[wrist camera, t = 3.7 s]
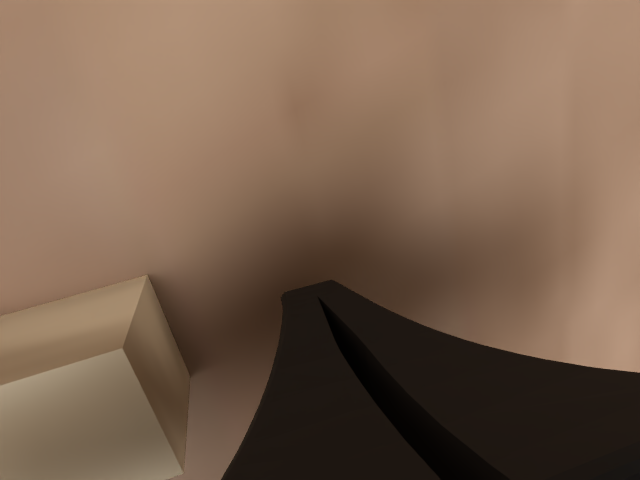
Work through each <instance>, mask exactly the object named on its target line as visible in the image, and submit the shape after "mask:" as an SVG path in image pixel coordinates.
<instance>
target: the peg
mask: <svg viewBox="0 0 640 480" xmlns="http://www.w3.org/2000/svg"><path fill="white" fill-rule="evenodd" d="M189 389H190V375H189V373H188V370H187V368H186V365H185V363H184V361H183V358H182V356H181V354H180V351H179V349H178V346H177V344H176V342H175V339H174V337H173V334H172V332H171V330H170V327H169V325H168V322H167V320H166V318H165V315H164V313H163V311H162V308H161V306H160V303H159V301H158V299H157V296H156V294H155V291H154V289H153V287H152V284H151V282H150V279H149V277H148V275H144V276H141V277H137V278H134V279H130V280H127V281H123V282H120V283H116V284H112V285H109V286H105V287H102V288H98V289H95V290H91V291H88V292H84V293H80V294H77V295H73V296H70V297H66V298H63V299H59V300H55V301H52V302H48V303H45V304H41V305H38V306H34V307H31V308H27V309H23V310H20V311H16V312H13V313H9V314H6V315H2V316H0V480H167V479H170V478H173V477H175V476H178V475H181V474H184V463H185V448H186V433H187V419H188V404H189Z"/></svg>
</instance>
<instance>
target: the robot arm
mask: <svg viewBox="0 0 640 480" xmlns="http://www.w3.org/2000/svg"><path fill="white" fill-rule="evenodd" d="M281 301H282V305H283V317H282V326H281V332H280V339H279V344H278V348H277V352H276V356H275V360H274V364H273V367H272V371H271V374H270V377H269V380H268V383H267V386H266V389H265V391H264V394H263V396H262V399H261V402H260V404H259V407H258V409H257V411H256V413H255V415H254V418H253V420H252V422H251V424H250V427H249V429H248V431H247V433H246V435H245V437H244V439H243V441H242V443H241V445H240V447H239V449H238V451H237V453H236V454H235V456H234V458H233V460H232V461H231V463H230V465H229V467H228V468H227V470H226V472H225V474H224V475H223V477H222V479H221V480H640V373H637V372H628V371H619V370H610V369H601V368H593V367H587V366H581V365H575V364H569V363H563V362H557V361H551V360H545V359H541V358H536V357H531V356H526V355H521V354H517V353H513V352H508V351H504V350H500V349H496V348H492V347H488V346H484V345H481V344H477V343H474V342H470V341H467V340H464V339H461V338H458V337H455V336H452V335H449V334H446V333H443V332H440V331H437V330H434V329H431V328H429V327H426V326H423V325H421V324H419V323H416V322H414V321H412V320H409V319H407V318H405V317H402V316H400V315H398V314H396V313H394V312H391V311H389V310H387V309H385V308H383V307H381V306H379V305H377V304H375V303H373V302H372V301H370V300H368V299H366V298H364V297H362V296H360V295H359V294H357V293H355V292H353V291H351V290H350V289H348V288H346V287H344V286H343V285H341V284H339V283H337V282H335V281H333V280H329V281H325V282H322V283H318V284H314V285H310V286H306V287H303V288H299V289H295V290H291V291H287V292H284V294H283V295H282V297H281Z"/></svg>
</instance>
